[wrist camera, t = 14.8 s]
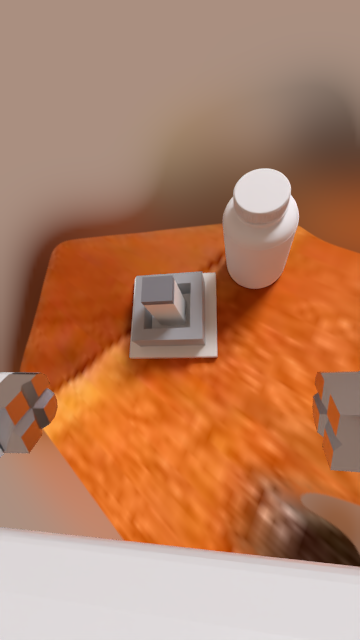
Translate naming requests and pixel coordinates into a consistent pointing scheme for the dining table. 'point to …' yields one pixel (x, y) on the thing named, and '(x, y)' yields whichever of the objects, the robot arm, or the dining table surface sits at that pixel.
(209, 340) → the socket
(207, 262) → the dining table surface
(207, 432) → the dining table surface
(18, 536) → the robot arm
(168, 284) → the plug
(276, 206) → the pill bottle
